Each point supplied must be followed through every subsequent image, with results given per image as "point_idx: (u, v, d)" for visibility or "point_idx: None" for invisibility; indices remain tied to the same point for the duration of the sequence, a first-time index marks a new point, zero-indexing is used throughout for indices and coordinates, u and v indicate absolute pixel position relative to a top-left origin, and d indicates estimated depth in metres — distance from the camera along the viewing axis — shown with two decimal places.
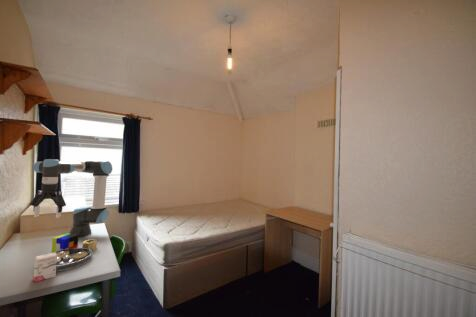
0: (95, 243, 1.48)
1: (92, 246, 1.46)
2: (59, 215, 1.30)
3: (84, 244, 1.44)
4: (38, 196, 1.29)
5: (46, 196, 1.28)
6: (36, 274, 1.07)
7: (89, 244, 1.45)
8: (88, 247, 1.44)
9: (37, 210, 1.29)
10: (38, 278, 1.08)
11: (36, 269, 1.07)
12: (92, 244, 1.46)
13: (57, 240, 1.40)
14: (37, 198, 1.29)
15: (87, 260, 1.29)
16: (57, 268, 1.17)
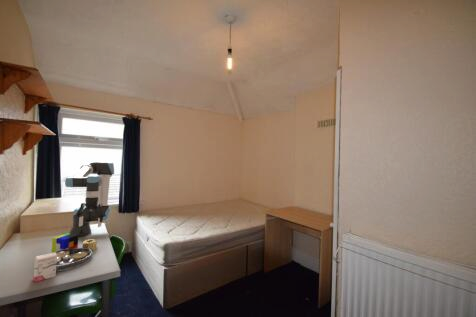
0: (95, 243, 1.48)
1: (92, 246, 1.46)
2: (100, 224, 1.49)
3: (84, 244, 1.44)
4: (82, 208, 1.48)
5: (89, 208, 1.48)
6: (36, 274, 1.07)
7: (89, 244, 1.45)
8: (88, 247, 1.44)
9: (81, 220, 1.48)
10: (38, 278, 1.08)
11: (36, 269, 1.07)
12: (92, 244, 1.46)
13: (57, 240, 1.40)
14: (81, 209, 1.49)
15: (87, 260, 1.29)
16: (57, 268, 1.17)
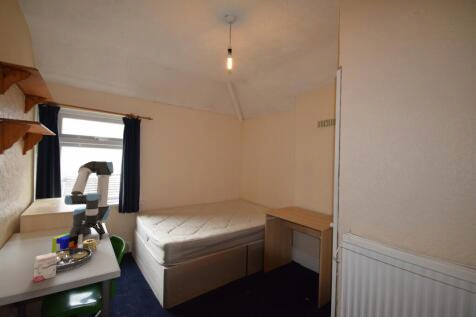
0: (95, 243, 1.48)
1: (92, 246, 1.46)
2: (100, 242, 1.48)
3: (84, 244, 1.44)
4: (81, 226, 1.48)
5: (89, 226, 1.47)
6: (36, 274, 1.07)
7: (89, 244, 1.45)
8: (88, 247, 1.44)
9: (80, 238, 1.48)
10: (38, 278, 1.08)
11: (36, 269, 1.07)
12: (92, 244, 1.46)
13: (57, 240, 1.40)
14: (80, 227, 1.48)
15: (87, 260, 1.29)
16: (57, 268, 1.17)
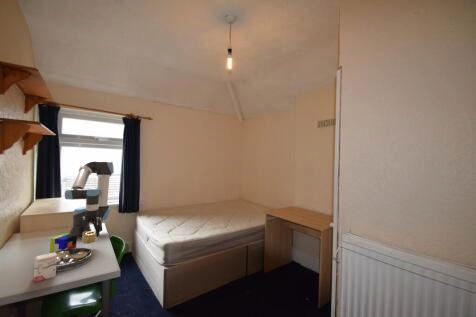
0: None
1: (93, 238, 1.47)
2: (97, 239, 1.49)
3: (85, 236, 1.45)
4: (83, 222, 1.49)
5: (89, 221, 1.48)
6: (36, 274, 1.07)
7: (90, 236, 1.45)
8: (89, 239, 1.45)
9: None
10: (38, 278, 1.08)
11: (36, 269, 1.07)
12: (93, 236, 1.47)
13: (56, 240, 1.40)
14: (83, 223, 1.49)
15: (87, 260, 1.29)
16: (57, 268, 1.17)
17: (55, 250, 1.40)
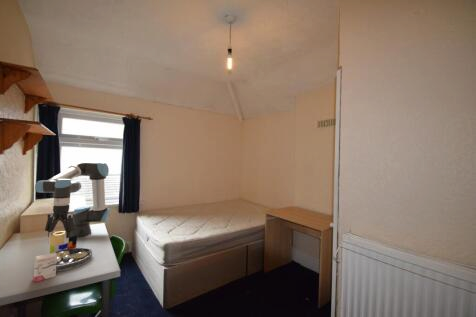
0: None
1: (61, 239, 1.21)
2: (67, 240, 1.23)
3: (51, 236, 1.19)
4: (50, 220, 1.23)
5: (58, 218, 1.22)
6: (36, 274, 1.07)
7: (57, 237, 1.19)
8: (56, 240, 1.19)
9: None
10: (38, 278, 1.08)
11: (36, 269, 1.07)
12: (61, 237, 1.21)
13: None
14: (50, 222, 1.23)
15: (87, 260, 1.29)
16: (57, 268, 1.17)
17: (55, 250, 1.40)
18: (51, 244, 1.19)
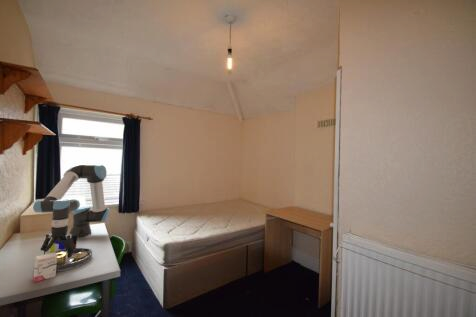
0: (64, 258, 1.23)
1: (60, 262, 1.20)
2: (68, 260, 1.23)
3: None
4: (48, 240, 1.22)
5: (56, 240, 1.22)
6: (36, 274, 1.07)
7: None
8: None
9: None
10: (38, 278, 1.08)
11: (36, 269, 1.07)
12: (60, 259, 1.20)
13: None
14: (47, 242, 1.23)
15: (87, 260, 1.29)
16: (57, 268, 1.17)
17: (55, 250, 1.40)
18: None
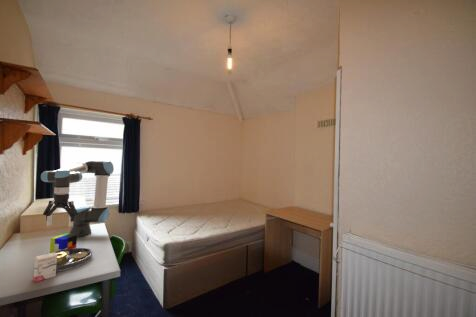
0: (64, 258, 1.23)
1: (60, 262, 1.20)
2: (71, 224, 1.34)
3: None
4: (50, 206, 1.33)
5: (58, 206, 1.32)
6: (36, 274, 1.07)
7: None
8: None
9: (50, 219, 1.33)
10: (38, 278, 1.08)
11: (36, 269, 1.07)
12: (60, 259, 1.20)
13: (56, 240, 1.40)
14: (49, 208, 1.33)
15: (87, 260, 1.29)
16: (57, 268, 1.17)
17: (55, 250, 1.40)
18: None
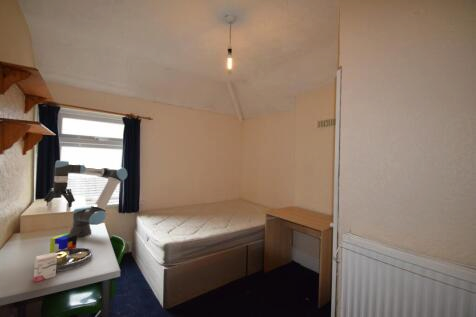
0: (64, 258, 1.23)
1: (60, 262, 1.20)
2: (69, 209, 1.48)
3: None
4: (50, 193, 1.48)
5: (58, 193, 1.47)
6: (36, 274, 1.07)
7: None
8: None
9: (50, 205, 1.48)
10: (38, 278, 1.08)
11: (36, 269, 1.07)
12: (60, 259, 1.20)
13: (56, 240, 1.40)
14: (50, 195, 1.48)
15: (87, 260, 1.29)
16: (57, 268, 1.17)
17: (55, 250, 1.40)
18: None
